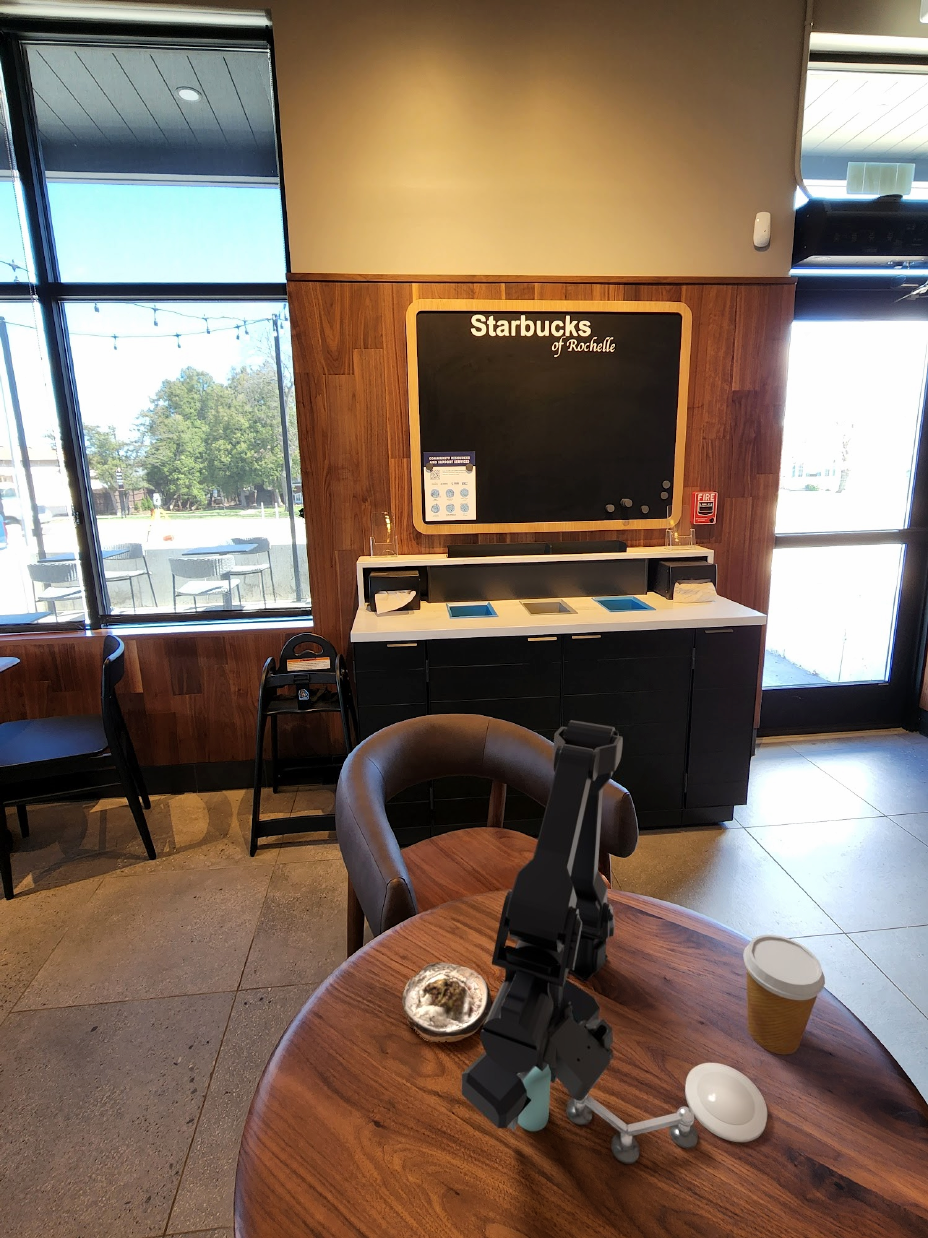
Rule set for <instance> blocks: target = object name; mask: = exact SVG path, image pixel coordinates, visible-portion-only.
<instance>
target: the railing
mask: <svg viewBox="0 0 928 1238" xmlns="http://www.w3.org/2000/svg"><path fill="white" fill-rule="evenodd" d="M593 1112H594V1113H595V1114H597V1115H598V1116H599V1117H600V1118H602V1119H603V1120H604V1121H606V1122H607V1123H608V1124H610V1125H611V1126H612V1127H613V1128H614V1129H616V1130H617V1131H618V1132H619V1133H616V1134H615V1135H614V1136H613V1137H612V1139H611V1147H610V1148H611V1151H612V1154H613V1156H614V1157H615V1159H616V1160H618V1161H619V1162H620V1163H622V1164H625V1165H633V1164H635V1163H636V1162H637V1161H638V1159H639V1157H640V1146H639V1144H638V1142H637V1140H636V1139H635V1138H634V1137H633V1136H636V1135H640V1134H644V1133H649V1132H652V1131H653V1132H654V1131H656V1130H660V1129H661V1130H662V1129H664V1128H668V1127H669V1135H670V1137H671V1140H672V1141H673V1142H674V1144H676V1145H677V1146H679V1147H680V1148H682V1149H686V1150H688V1149H693V1148H695V1147H696V1145H697V1144H698V1132H697V1130H696V1128H695V1126H694V1125H693V1124H694V1122H695V1121H694V1120H695V1116H694V1115H693V1113H692V1111H691V1110H690V1108H689V1106H688V1107H687V1106H681V1107H679V1108H678V1109H677V1111H676V1112H674V1113H671V1114H666V1115H663V1116H658V1117H654V1118H650V1119H645V1120H642V1121H637V1122H634V1123H630V1124H626V1122H624V1121H623V1120H621V1119H620V1118H619V1117H618V1116H617V1115H615V1114H614V1113H612V1112H611V1111H610V1110H609V1109H607V1108H606V1107H605V1106H603V1105H602V1104H601V1103H600V1102H599V1101H597V1100H596V1099H594V1098H593V1097H592V1096H591V1095H590V1094H589V1093H588V1094H587V1095H586V1097H585V1098H584V1099H583V1100H581V1101H577V1100H575V1099H574V1098H572V1097H571V1098H570V1099H569V1100H568V1102H567V1103H566V1115H567V1118H568V1119H569V1120H570V1121H571V1122H572V1123H573V1124H575V1125H578V1126H586V1125H588V1124H589V1123H590V1122H591V1121H592V1119H593Z"/></svg>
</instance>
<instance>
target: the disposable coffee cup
mask: <svg viewBox="0 0 928 1238" xmlns="http://www.w3.org/2000/svg"><path fill="white" fill-rule="evenodd" d="M742 955H743V963H744V964H745V968H746V1003H747V1004H746V1007H747V1008H746V1013H747V1014H746V1017H747V1019H746V1020H747V1024H746V1025H747V1031H748V1033H749V1035H750V1036H751V1038H752V1039H753V1041H755V1043H757V1044H758V1045H759V1046H761V1047H762V1048H764V1050H766V1051H768V1052H771V1053H773V1054H777V1055H782V1056H783V1055H791V1054H793V1053H795V1052H796V1051H797V1050H798V1049H799V1047H800V1045H801V1042H802V1039H803V1037H804V1033H805V1031H806V1027H807V1025H808V1023H809V1020H810V1017H811V1013H812V1011H813V1008H814V1007H815V1004H816V1000H817V998H818V995H819V994H820V993H821V992H822V991H823V989H824V987H825V985H826V980H825V979H826V978H825V975H824V972H823V968H822V965H821V963H820V961H819V959H818V958H817V956H816V955H815V954H814V953H813V952H812V951H810V950H809V949H808V948H807V947H806V946H804V945H802V944H801V943H799V942H797V941H795V940H792V939H791V938H788V937H785V936H781V935H778V934H777V935H776V934H763V935H762V934H760V935H758V936H756V937H754V938H753V939H751V941H750V942H749V944H748V945H746V946H745V948H744V950H743V954H742Z"/></svg>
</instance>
